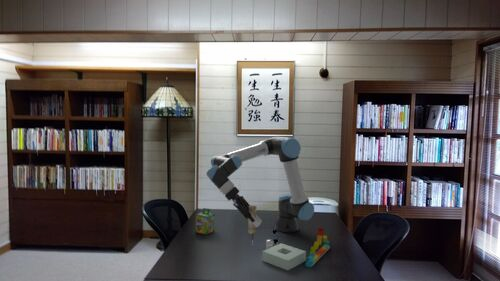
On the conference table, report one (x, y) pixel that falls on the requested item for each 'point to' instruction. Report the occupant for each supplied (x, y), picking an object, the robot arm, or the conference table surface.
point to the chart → (314, 256)
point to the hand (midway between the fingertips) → (259, 224)
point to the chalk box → (205, 222)
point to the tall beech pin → (250, 225)
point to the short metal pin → (269, 243)
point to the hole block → (284, 256)
